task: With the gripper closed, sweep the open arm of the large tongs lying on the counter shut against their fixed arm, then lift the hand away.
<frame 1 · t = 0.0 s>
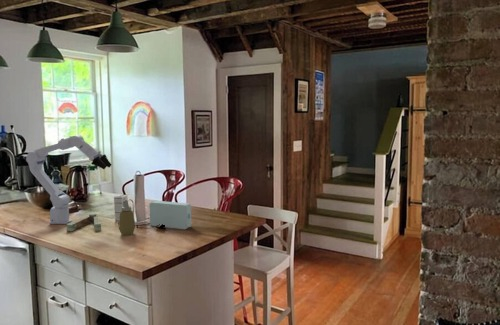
hand: (107, 167, 226), 32 cm above the kitchen island, tool tilted 50°, fingers open, 7 cm apart
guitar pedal: (170, 226, 223), on the kitchen island
syrup box: (121, 220, 236), on the kitchen island
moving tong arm: (78, 223, 221), point 2 cm above the kitchen island, hinge at 30.0°
squeeze bottle: (127, 234, 207), on the kitchen island
fixed tong arm: (93, 221, 232), on the kitchen island
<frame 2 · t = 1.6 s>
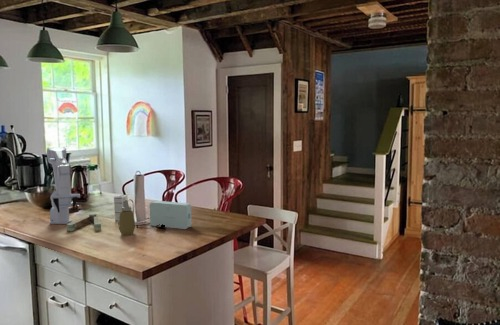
hand: (66, 211, 216), 9 cm above the kitchen island, tool pointing down, fingers open, 7 cm apart
nothing on the kitchen island moved.
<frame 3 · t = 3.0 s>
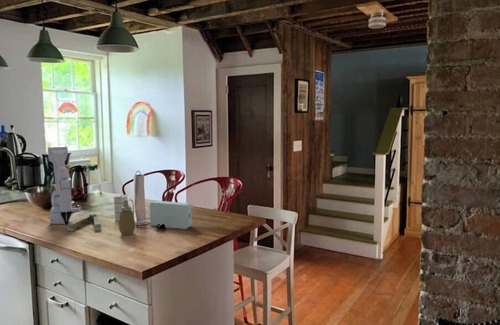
hand: (66, 225, 217), 2 cm above the kitchen island, tool pointing down, fingers closed
nothing on the kitchen island moved.
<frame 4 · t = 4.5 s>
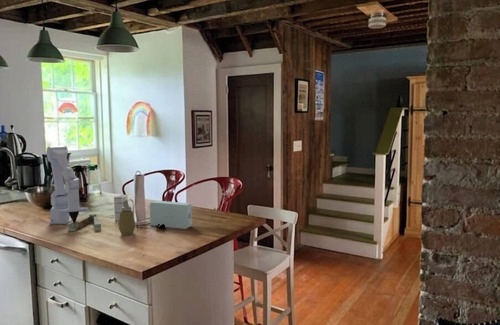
hand: (74, 225, 219), 1 cm above the kitchen island, tool pointing down, fingers closed
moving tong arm: (79, 223, 220), point 2 cm above the kitchen island, hinge at 27.2°, touching gripper
everything else where it was.
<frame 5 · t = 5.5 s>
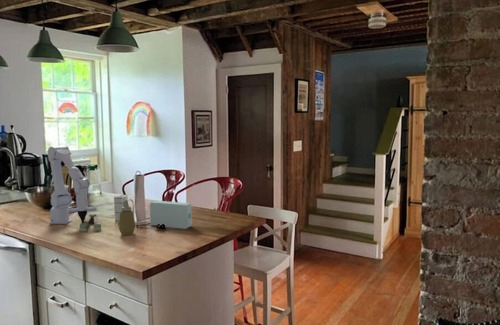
hand: (83, 224, 220), 1 cm above the kitchen island, tool pointing down, fingers closed
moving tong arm: (85, 223, 220), point 2 cm above the kitchen island, hinge at 9.6°, touching gripper
everything else where it was.
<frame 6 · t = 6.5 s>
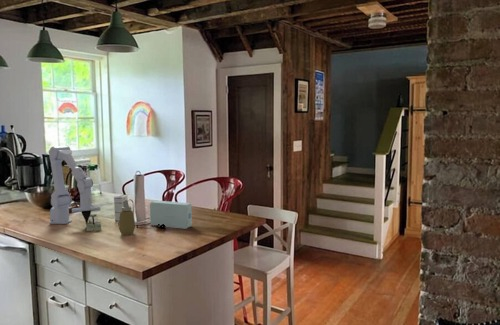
hand: (86, 224, 221), 1 cm above the kitchen island, tool pointing down, fingers closed
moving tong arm: (89, 223, 220), point 2 cm above the kitchen island, hinge at -0.1°, touching gripper
everything else where it was.
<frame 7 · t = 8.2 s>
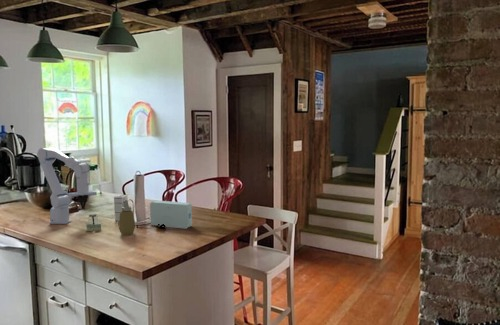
hand: (83, 208, 224), 9 cm above the kitchen island, tool pointing down, fingers closed
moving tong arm: (89, 223, 220), point 2 cm above the kitchen island, hinge at -0.1°
everything else where it was.
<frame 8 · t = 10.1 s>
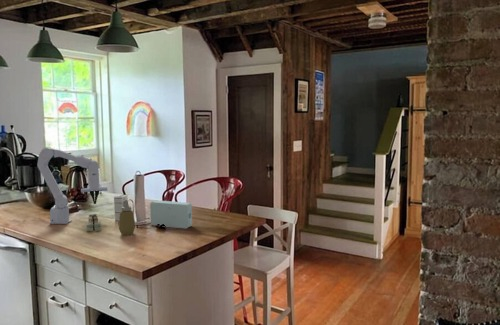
hand: (94, 203, 237), 9 cm above the kitchen island, tool pointing down, fingers closed
at the end: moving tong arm at +0° (first picture: +30°); syrup box moved 0.2 cm from its start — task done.
